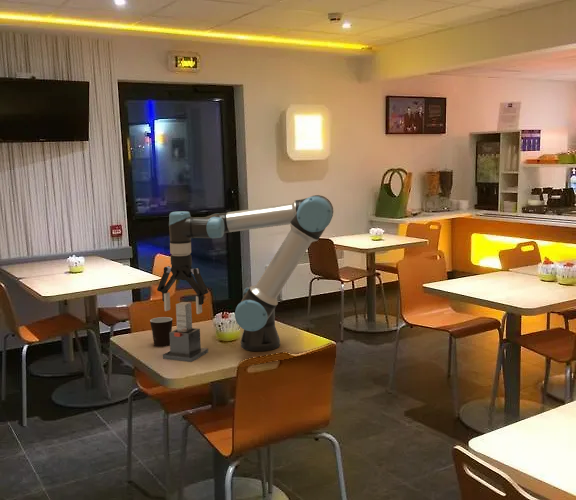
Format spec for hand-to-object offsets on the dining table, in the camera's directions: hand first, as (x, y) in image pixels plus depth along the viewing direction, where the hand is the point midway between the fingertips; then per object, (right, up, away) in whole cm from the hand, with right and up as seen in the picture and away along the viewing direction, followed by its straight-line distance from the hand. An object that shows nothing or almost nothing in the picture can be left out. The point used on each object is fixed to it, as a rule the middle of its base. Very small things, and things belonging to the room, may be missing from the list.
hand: (183, 311), depth 226 cm
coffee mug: (-11, -15, +19) cm, 26 cm away
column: (+1, -15, +2) cm, 15 cm away
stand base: (+1, -16, +2) cm, 17 cm away
